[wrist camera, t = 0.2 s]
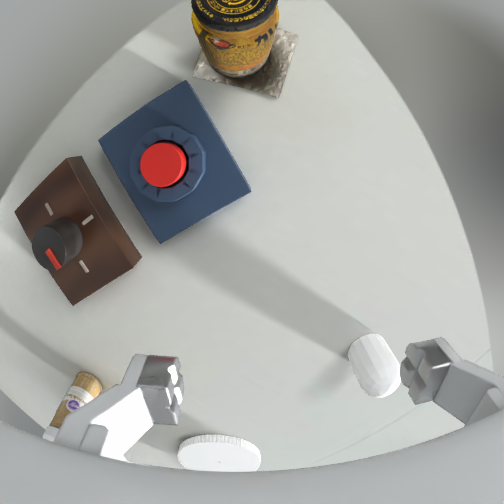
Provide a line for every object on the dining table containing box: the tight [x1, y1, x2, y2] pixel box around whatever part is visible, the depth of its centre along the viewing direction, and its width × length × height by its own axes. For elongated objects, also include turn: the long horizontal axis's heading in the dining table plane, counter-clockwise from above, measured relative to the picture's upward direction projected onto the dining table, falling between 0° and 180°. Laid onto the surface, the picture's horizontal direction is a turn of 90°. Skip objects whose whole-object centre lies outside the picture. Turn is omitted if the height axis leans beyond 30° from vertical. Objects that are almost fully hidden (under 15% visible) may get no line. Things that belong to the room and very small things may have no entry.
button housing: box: [98, 80, 251, 244], centre depth 25 cm, size 12×10×4 cm
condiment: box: [191, 0, 298, 97], centre depth 18 cm, size 7×8×12 cm
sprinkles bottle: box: [43, 372, 102, 442], centre depth 31 cm, size 5×5×14 cm
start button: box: [140, 143, 186, 187], centre depth 23 cm, size 4×4×2 cm
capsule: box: [348, 333, 401, 398], centre depth 32 cm, size 5×5×8 cm
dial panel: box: [15, 156, 142, 306], centre depth 28 cm, size 13×10×3 cm
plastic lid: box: [178, 434, 261, 472], centre depth 42 cm, size 14×14×2 cm
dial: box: [32, 217, 83, 271], centre depth 25 cm, size 4×4×4 cm
